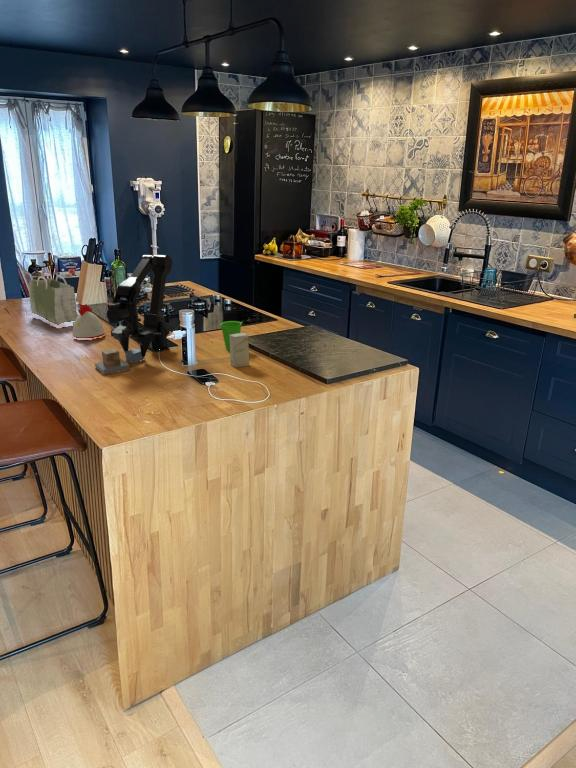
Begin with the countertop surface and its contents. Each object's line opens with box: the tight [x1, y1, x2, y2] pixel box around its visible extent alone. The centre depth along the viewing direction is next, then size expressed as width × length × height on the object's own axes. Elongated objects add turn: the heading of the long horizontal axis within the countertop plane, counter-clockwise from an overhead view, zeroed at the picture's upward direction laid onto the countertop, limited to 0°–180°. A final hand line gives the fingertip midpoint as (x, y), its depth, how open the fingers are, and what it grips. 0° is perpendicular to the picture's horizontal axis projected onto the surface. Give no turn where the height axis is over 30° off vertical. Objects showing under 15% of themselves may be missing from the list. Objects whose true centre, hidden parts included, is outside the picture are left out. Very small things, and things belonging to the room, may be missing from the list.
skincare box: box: [229, 332, 250, 368], centre depth 221 cm, size 6×4×12 cm
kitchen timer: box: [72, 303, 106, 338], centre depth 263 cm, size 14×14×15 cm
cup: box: [219, 320, 243, 352], centre depth 241 cm, size 9×9×11 cm
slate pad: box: [94, 357, 131, 375], centre depth 222 cm, size 10×10×2 cm
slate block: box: [124, 348, 145, 363], centre depth 231 cm, size 5×5×4 cm
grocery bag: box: [28, 274, 79, 325], centre depth 291 cm, size 32×14×23 cm, turn 44°
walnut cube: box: [101, 348, 121, 367], centre depth 220 cm, size 5×5×5 cm
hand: (134, 355), depth 231 cm, fingers open, 9 cm apart
